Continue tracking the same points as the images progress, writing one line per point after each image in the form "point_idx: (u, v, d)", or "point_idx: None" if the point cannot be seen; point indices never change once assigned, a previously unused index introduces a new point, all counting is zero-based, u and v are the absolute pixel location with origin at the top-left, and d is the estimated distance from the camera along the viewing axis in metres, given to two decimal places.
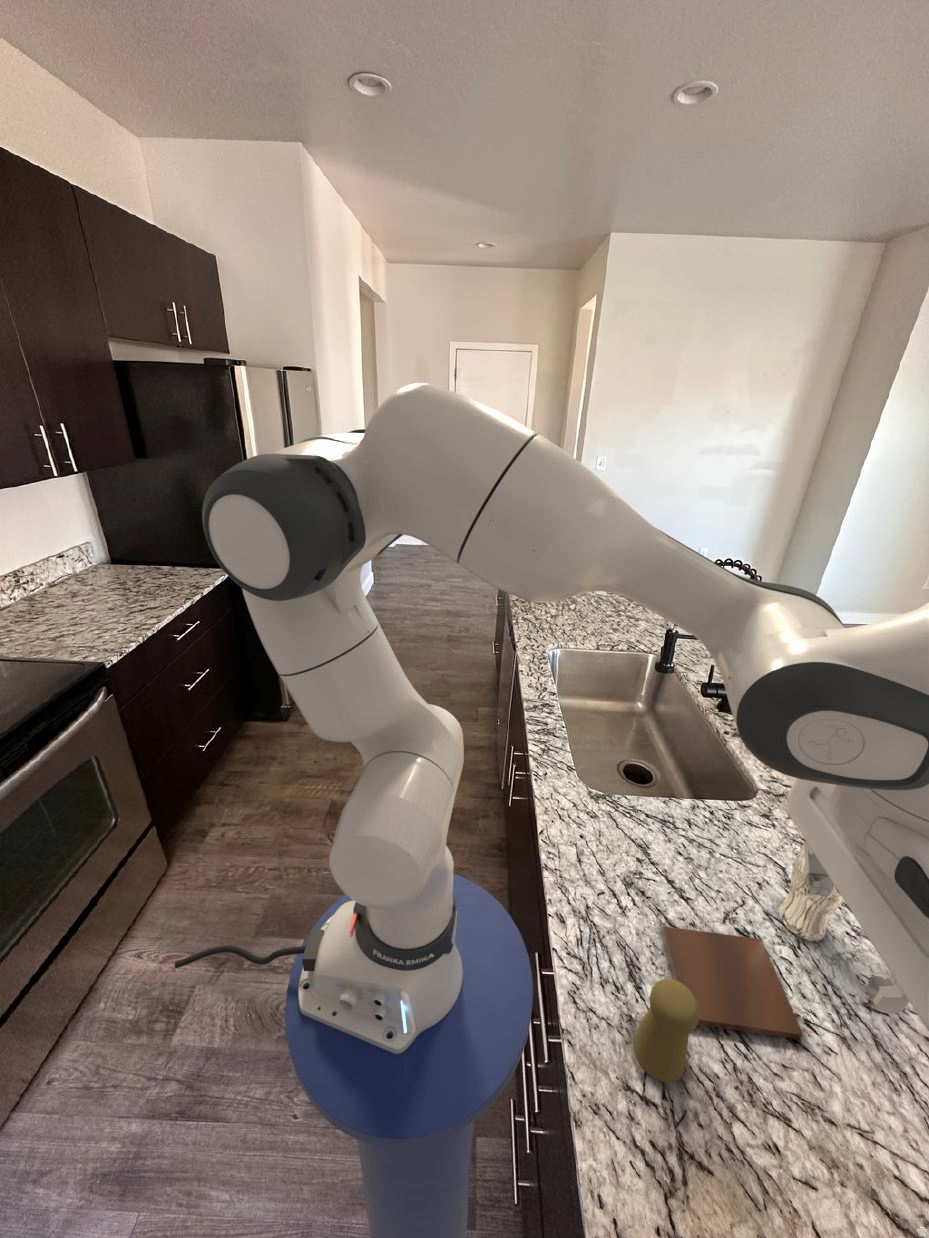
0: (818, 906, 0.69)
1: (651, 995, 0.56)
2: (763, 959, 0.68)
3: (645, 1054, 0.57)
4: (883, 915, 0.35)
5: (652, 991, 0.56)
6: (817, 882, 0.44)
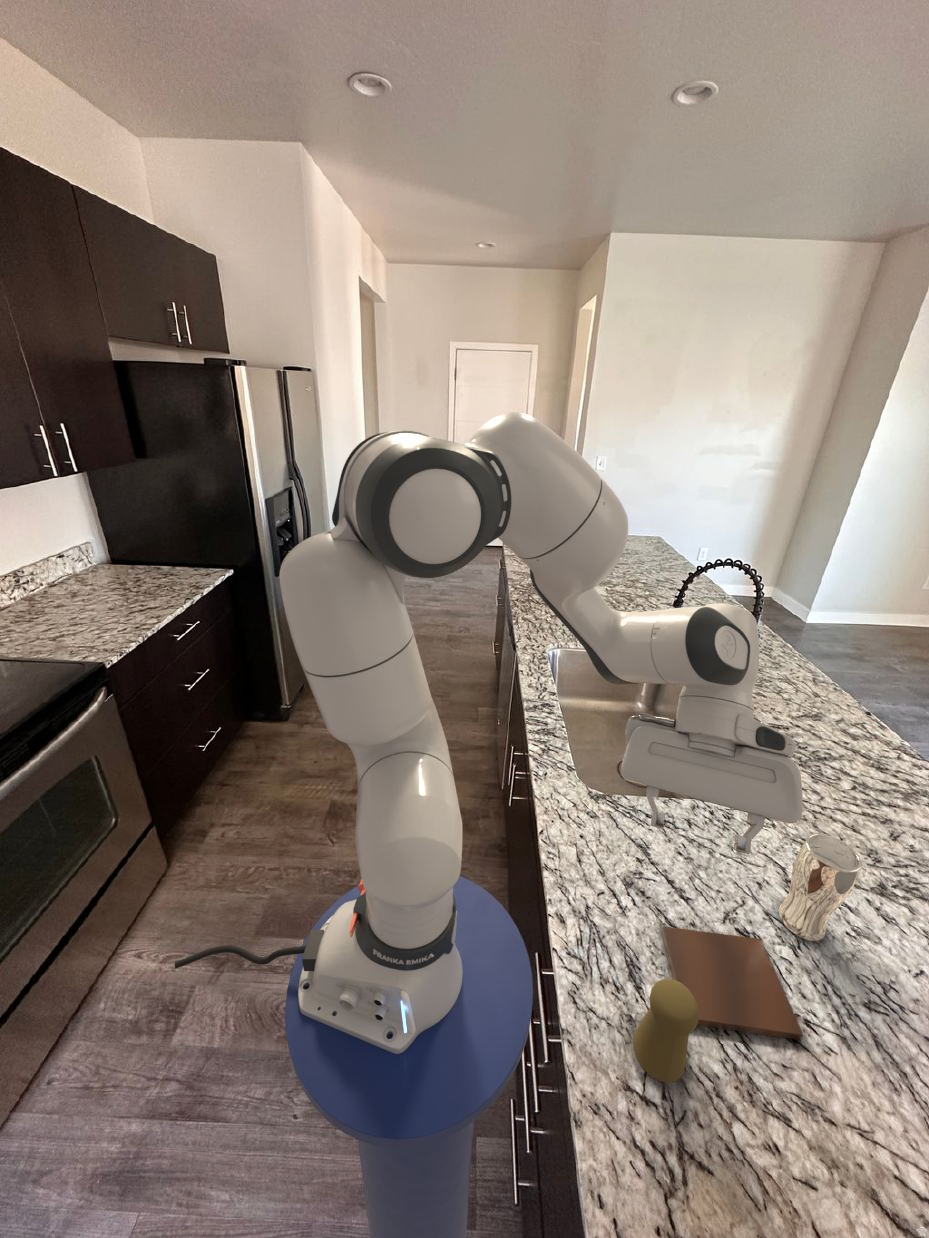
0: (818, 906, 0.69)
1: (651, 995, 0.56)
2: (763, 959, 0.68)
3: (645, 1054, 0.57)
4: (740, 782, 0.58)
5: (652, 991, 0.56)
6: (664, 815, 0.61)
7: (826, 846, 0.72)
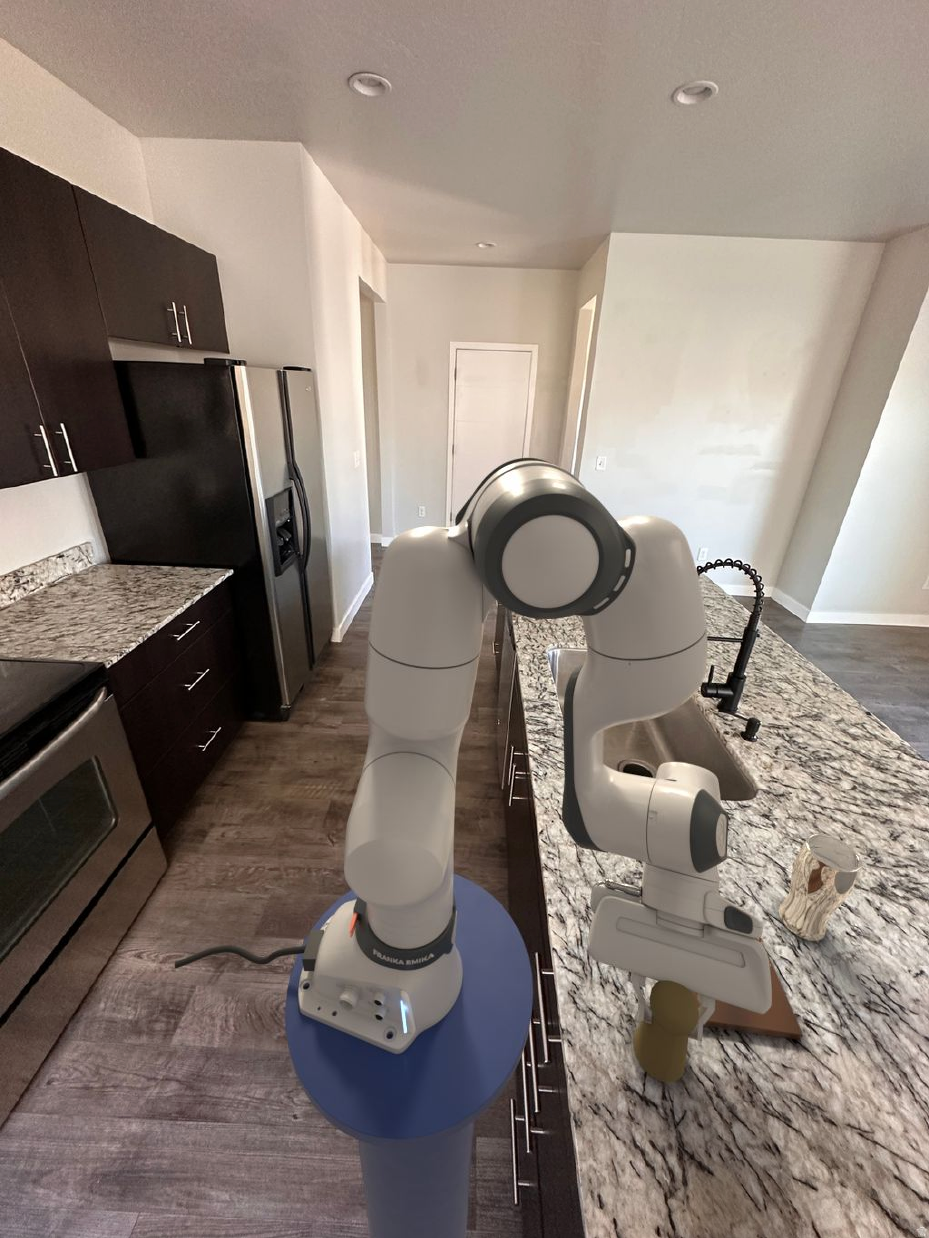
0: (818, 906, 0.69)
1: (651, 995, 0.56)
2: None
3: (645, 1054, 0.57)
4: (709, 967, 0.56)
5: (652, 991, 0.56)
6: None
7: (826, 846, 0.72)
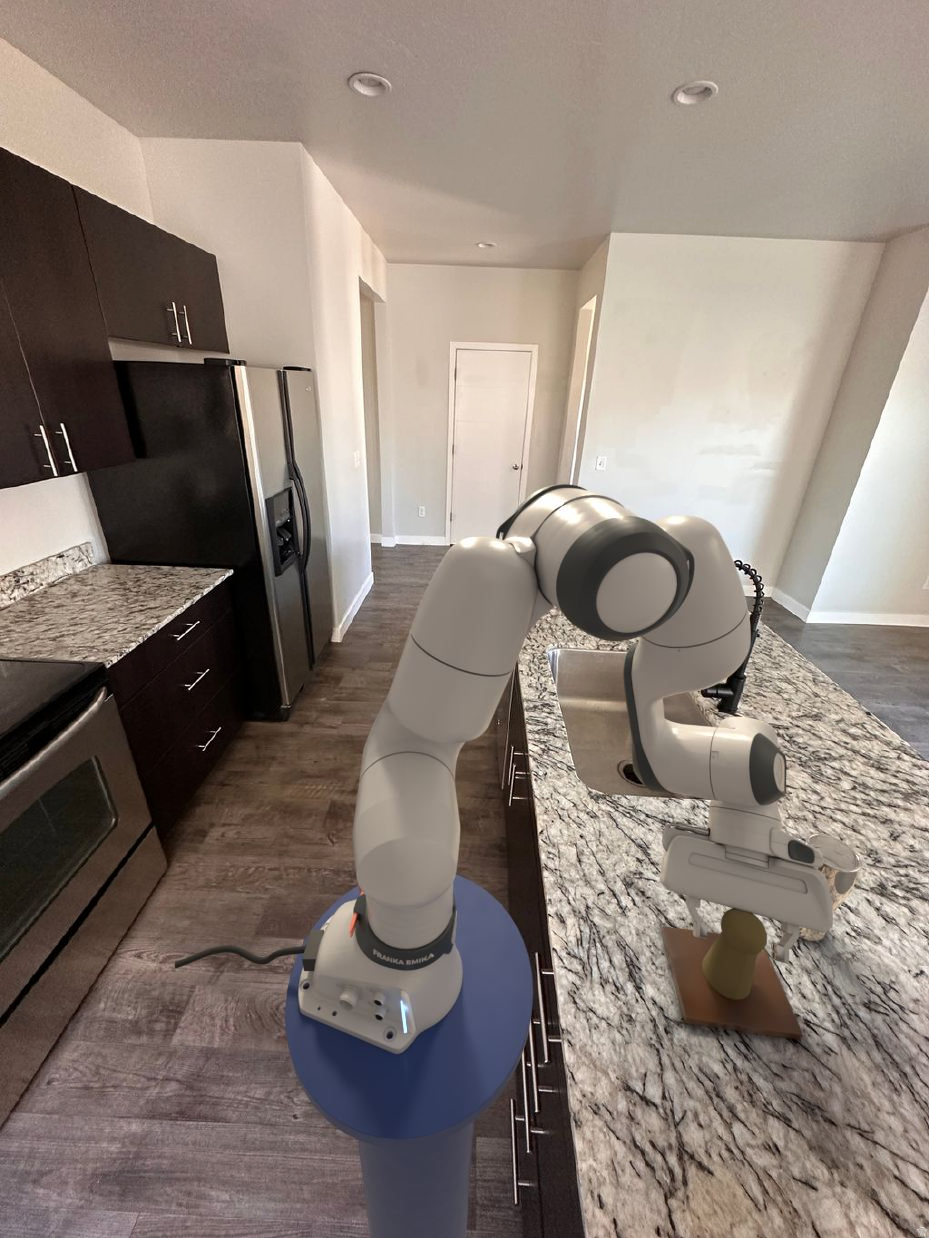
0: None
1: (723, 921, 0.63)
2: (763, 959, 0.68)
3: (716, 975, 0.64)
4: (775, 893, 0.63)
5: (723, 918, 0.63)
6: None
7: (826, 846, 0.72)
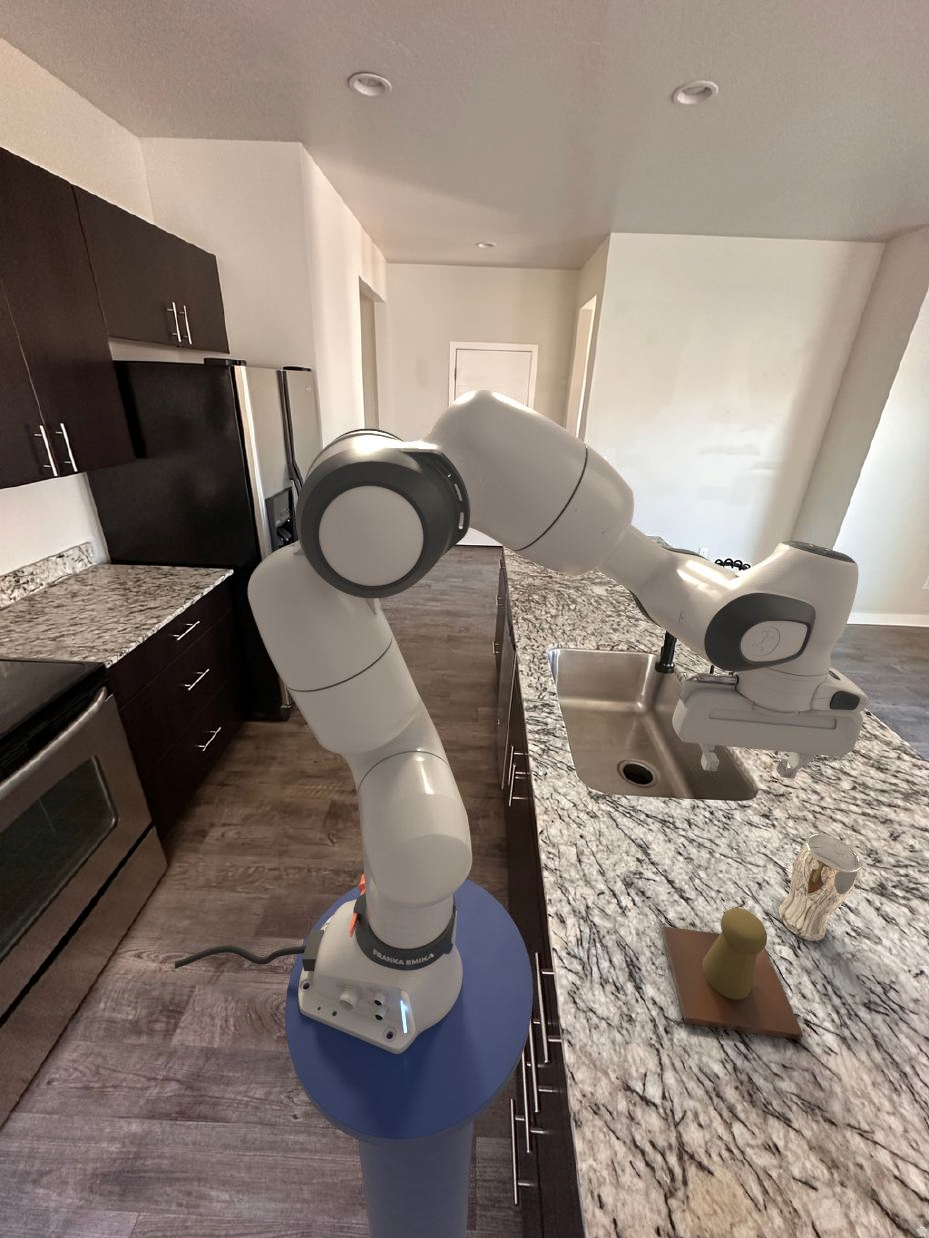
0: (818, 906, 0.69)
1: (723, 921, 0.63)
2: (763, 959, 0.68)
3: (716, 975, 0.64)
4: (799, 733, 0.58)
5: (723, 918, 0.63)
6: (718, 760, 0.62)
7: (826, 846, 0.72)
